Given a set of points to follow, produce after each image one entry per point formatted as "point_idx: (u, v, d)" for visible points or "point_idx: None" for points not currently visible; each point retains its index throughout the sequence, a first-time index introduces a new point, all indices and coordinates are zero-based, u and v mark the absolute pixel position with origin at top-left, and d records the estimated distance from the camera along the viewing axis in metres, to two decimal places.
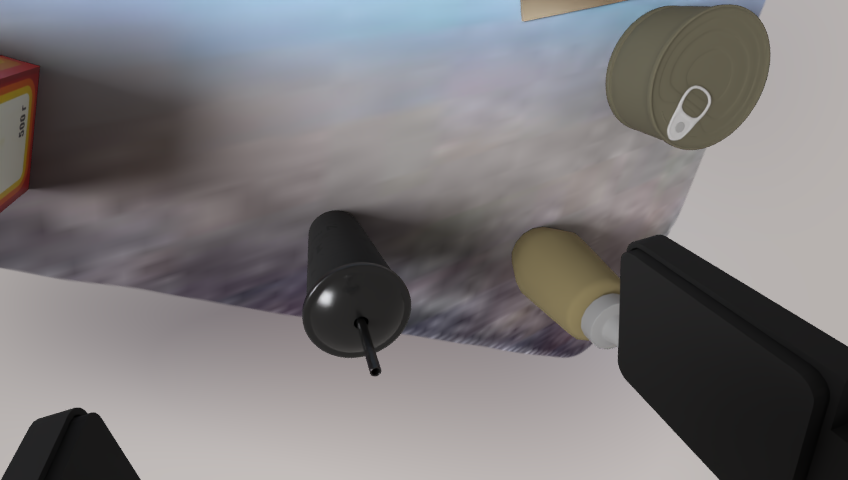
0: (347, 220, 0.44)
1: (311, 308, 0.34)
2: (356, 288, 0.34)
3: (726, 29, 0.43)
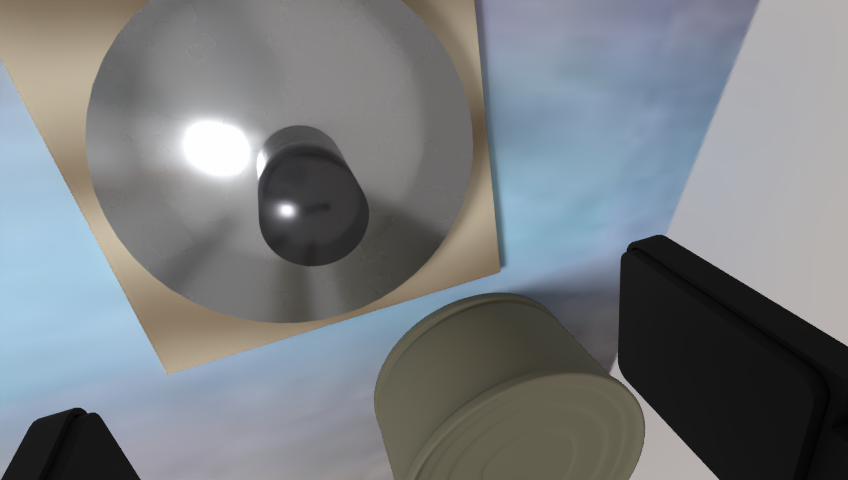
0: None
1: None
2: None
3: (549, 404, 0.22)
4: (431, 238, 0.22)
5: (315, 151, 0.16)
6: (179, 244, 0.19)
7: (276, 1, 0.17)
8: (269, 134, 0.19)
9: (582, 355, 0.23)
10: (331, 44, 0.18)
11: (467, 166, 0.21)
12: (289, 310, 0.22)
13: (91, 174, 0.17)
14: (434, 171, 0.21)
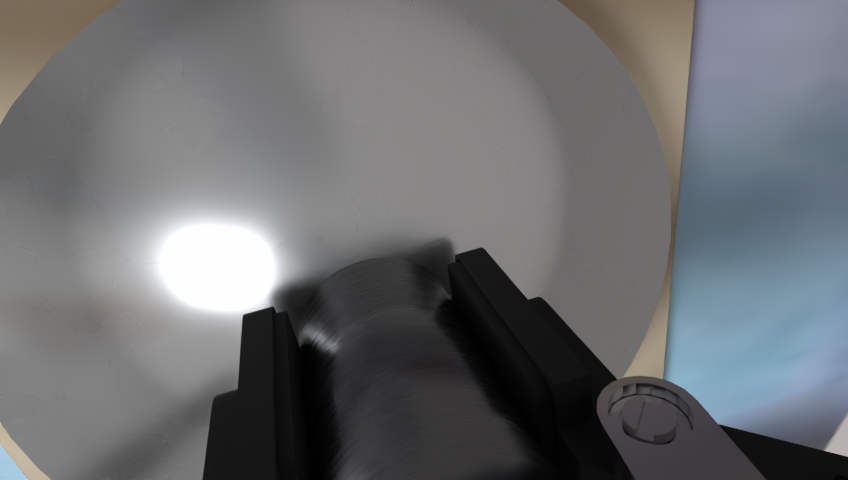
0: None
1: None
2: None
3: None
4: None
5: (442, 373, 0.07)
6: (156, 467, 0.11)
7: (348, 30, 0.08)
8: (323, 278, 0.10)
9: None
10: (449, 111, 0.09)
11: (651, 301, 0.12)
12: None
13: None
14: (598, 314, 0.12)
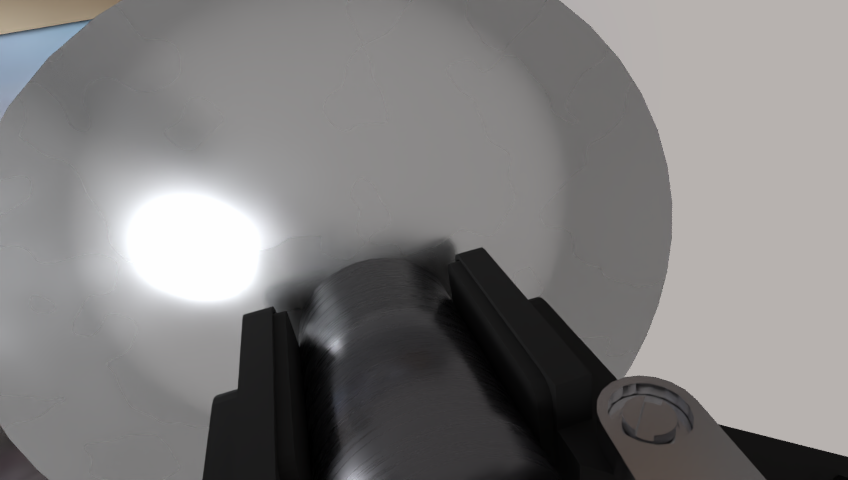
0: None
1: None
2: None
3: None
4: None
5: (442, 374, 0.07)
6: (156, 468, 0.11)
7: (348, 29, 0.08)
8: (322, 278, 0.10)
9: None
10: (449, 110, 0.09)
11: (652, 302, 0.12)
12: None
13: None
14: (599, 315, 0.12)
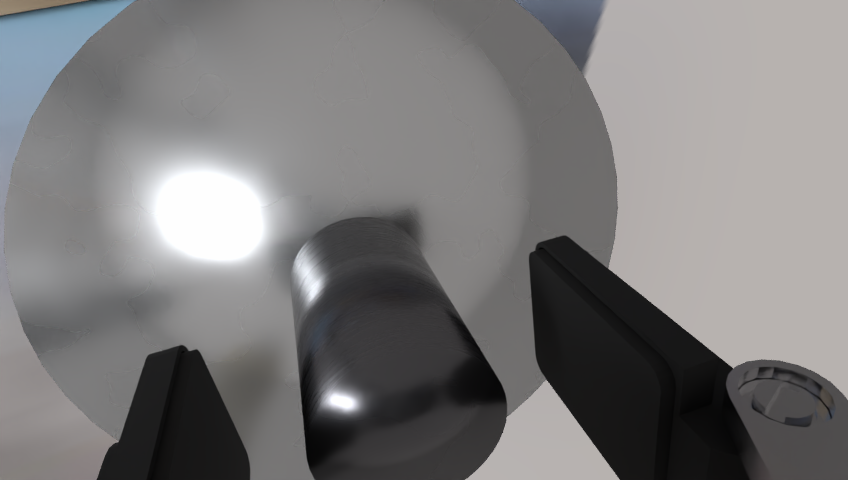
0: None
1: None
2: None
3: None
4: None
5: (405, 296, 0.09)
6: None
7: (335, 20, 0.10)
8: (312, 233, 0.11)
9: None
10: (420, 90, 0.11)
11: None
12: None
13: (17, 304, 0.10)
14: None
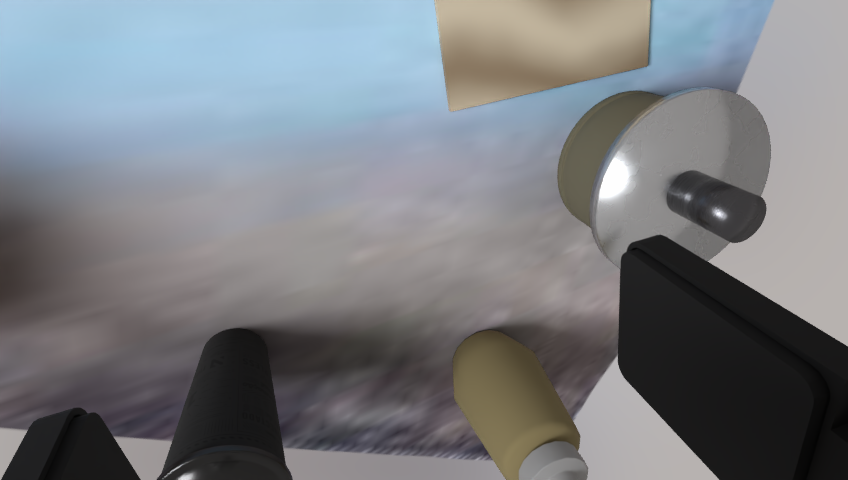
0: (241, 347, 0.37)
1: None
2: None
3: None
4: None
5: (735, 187, 0.32)
6: (621, 232, 0.36)
7: (704, 110, 0.33)
8: (678, 175, 0.35)
9: None
10: (719, 129, 0.34)
11: (760, 192, 0.38)
12: None
13: (599, 195, 0.34)
14: None
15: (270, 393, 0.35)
